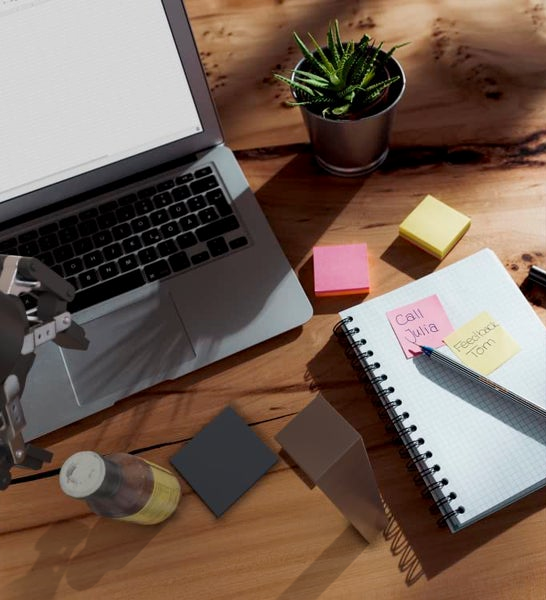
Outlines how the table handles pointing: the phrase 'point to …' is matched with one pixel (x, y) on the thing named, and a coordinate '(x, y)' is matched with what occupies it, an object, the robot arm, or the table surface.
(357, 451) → the walnut post
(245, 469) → the mat
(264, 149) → the table surface
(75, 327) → the robot arm
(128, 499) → the sauce bottle
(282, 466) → the table surface
